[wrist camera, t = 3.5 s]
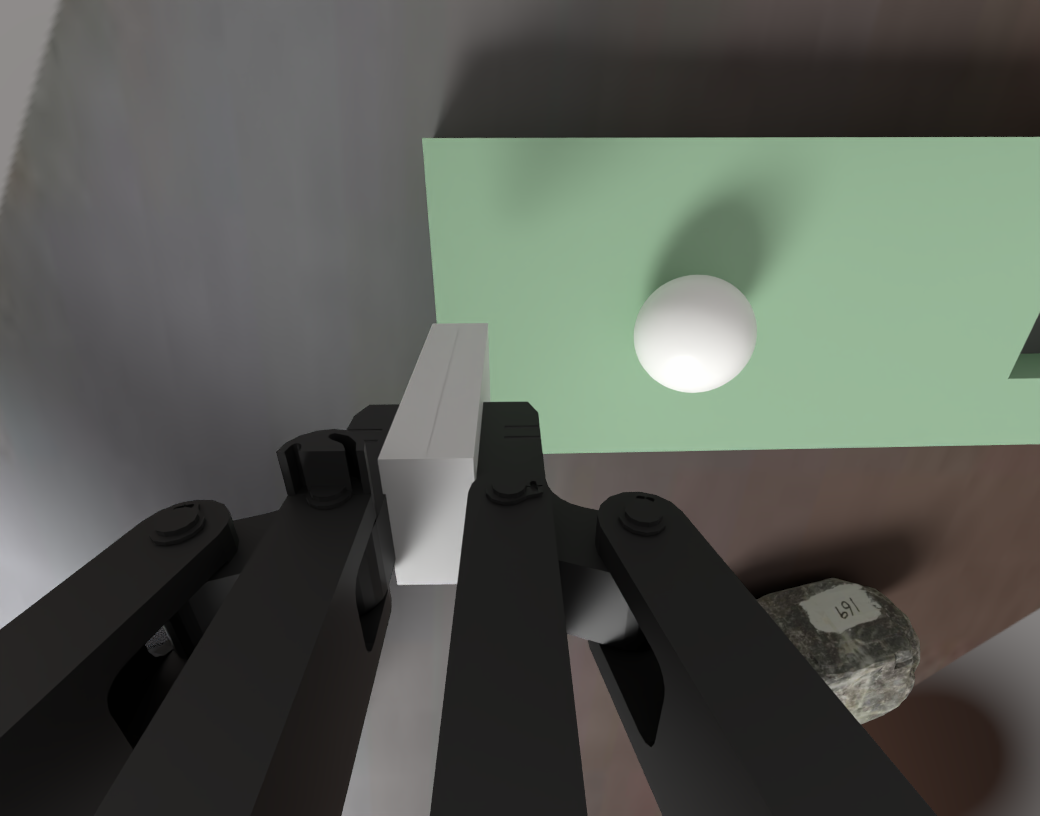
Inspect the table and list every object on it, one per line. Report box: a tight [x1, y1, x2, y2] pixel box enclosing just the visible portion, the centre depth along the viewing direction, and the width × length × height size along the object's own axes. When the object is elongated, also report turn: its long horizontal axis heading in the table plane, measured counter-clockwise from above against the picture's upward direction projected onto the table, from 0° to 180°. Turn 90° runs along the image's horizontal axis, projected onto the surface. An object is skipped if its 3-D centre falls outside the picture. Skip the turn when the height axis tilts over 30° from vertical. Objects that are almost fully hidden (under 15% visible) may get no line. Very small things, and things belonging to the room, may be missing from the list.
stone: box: [756, 578, 920, 724], centre depth 29 cm, size 14×7×10 cm, turn 126°
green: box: [422, 137, 1040, 454], centre depth 15 cm, size 34×12×17 cm, turn 90°
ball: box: [634, 275, 757, 393], centre depth 18 cm, size 4×4×4 cm
